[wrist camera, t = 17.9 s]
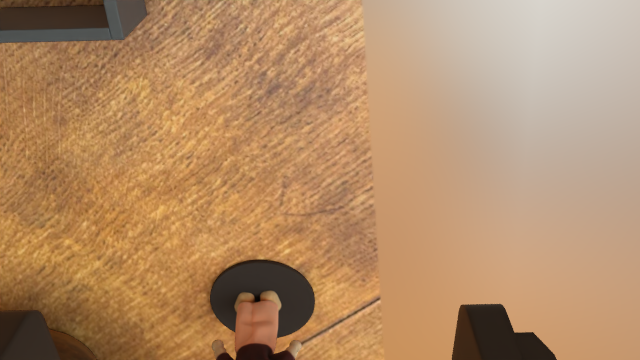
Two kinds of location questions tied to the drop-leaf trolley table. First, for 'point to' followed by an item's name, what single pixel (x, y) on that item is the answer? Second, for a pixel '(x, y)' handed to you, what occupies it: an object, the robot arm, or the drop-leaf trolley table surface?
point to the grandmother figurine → (256, 330)
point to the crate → (71, 22)
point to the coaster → (257, 280)
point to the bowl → (70, 347)
